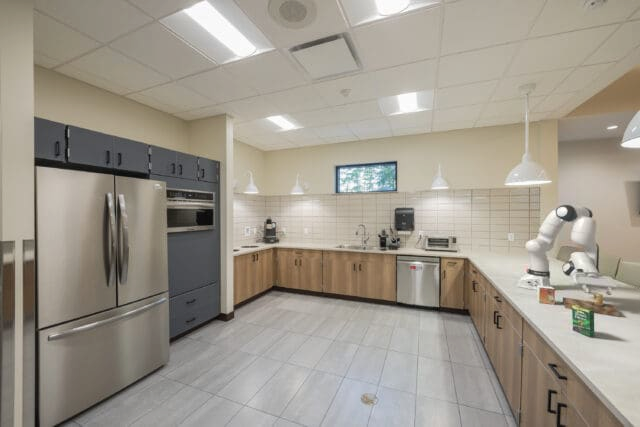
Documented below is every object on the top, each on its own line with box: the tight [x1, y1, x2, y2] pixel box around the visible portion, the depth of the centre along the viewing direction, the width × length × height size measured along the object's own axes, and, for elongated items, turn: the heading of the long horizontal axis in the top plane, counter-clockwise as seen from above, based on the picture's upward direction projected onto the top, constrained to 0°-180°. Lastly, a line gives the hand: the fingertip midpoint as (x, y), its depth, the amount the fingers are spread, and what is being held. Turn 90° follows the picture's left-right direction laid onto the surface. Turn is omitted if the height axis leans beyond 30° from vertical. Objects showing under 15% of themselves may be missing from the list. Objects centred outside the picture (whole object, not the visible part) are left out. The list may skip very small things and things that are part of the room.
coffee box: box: [571, 305, 595, 338], centre depth 125 cm, size 8×3×13 cm, turn 6°
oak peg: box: [593, 293, 604, 307], centre depth 152 cm, size 4×4×10 cm
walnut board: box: [562, 296, 620, 318], centre depth 155 cm, size 22×12×4 cm, turn 52°
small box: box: [536, 285, 556, 306], centre depth 166 cm, size 8×6×10 cm
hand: (599, 293), depth 151 cm, fingers open, 8 cm apart
